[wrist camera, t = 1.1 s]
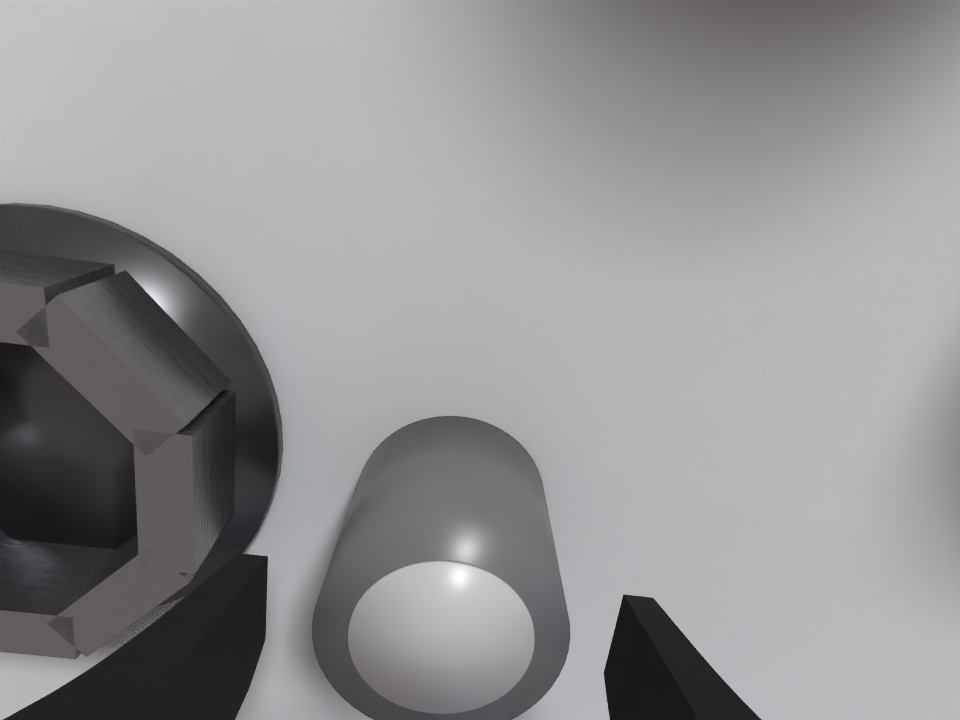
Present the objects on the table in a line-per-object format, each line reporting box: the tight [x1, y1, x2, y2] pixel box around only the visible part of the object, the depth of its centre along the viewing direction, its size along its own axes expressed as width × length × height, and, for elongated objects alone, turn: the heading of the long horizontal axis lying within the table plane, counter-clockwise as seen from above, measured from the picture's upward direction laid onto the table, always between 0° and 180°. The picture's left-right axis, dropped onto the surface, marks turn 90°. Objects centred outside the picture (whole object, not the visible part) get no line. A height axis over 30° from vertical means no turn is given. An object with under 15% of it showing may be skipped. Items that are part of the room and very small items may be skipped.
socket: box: [0, 203, 283, 659], centre depth 15 cm, size 11×11×3 cm
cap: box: [312, 416, 570, 720], centre depth 15 cm, size 5×5×5 cm
